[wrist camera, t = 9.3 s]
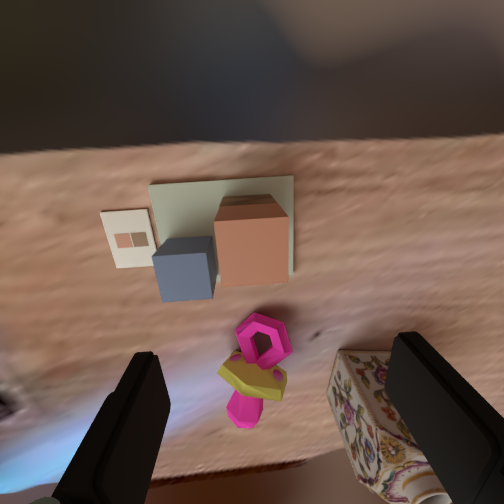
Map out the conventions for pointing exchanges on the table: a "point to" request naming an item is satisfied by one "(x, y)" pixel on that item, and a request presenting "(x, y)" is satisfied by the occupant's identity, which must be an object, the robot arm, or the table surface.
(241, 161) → the table surface
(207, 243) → the blue-gray block
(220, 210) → the terracotta block
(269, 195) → the walnut block
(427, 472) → the decorative jar
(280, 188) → the board
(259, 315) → the toy
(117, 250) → the tile
